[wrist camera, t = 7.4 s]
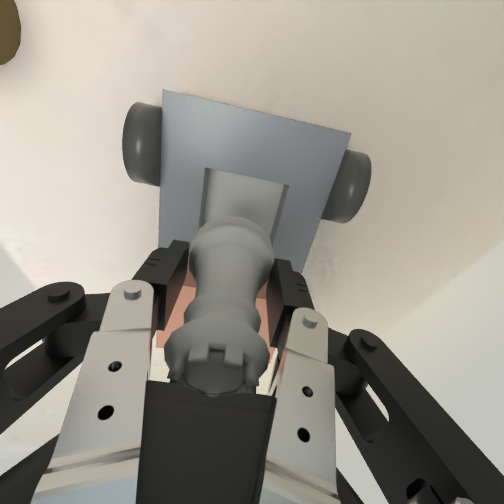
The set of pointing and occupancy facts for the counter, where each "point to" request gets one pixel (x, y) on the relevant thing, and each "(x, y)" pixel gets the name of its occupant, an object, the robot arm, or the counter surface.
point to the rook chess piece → (223, 311)
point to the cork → (8, 30)
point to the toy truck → (241, 178)
